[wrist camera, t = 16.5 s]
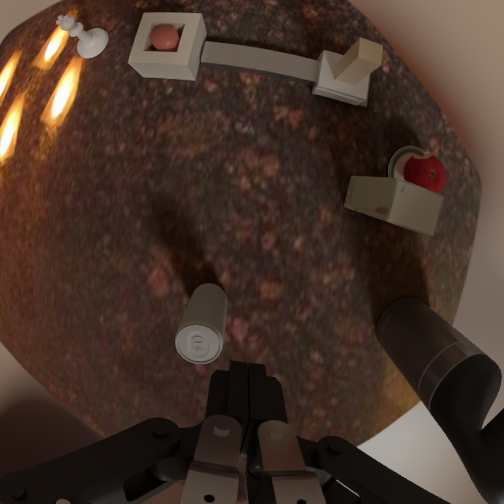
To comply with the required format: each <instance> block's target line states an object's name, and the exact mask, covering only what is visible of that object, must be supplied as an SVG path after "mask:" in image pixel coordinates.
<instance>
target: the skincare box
mask: <svg viewBox="0 0 504 504" xmlns="http://www.w3.org/2000/svg"><path fill="white" fill-rule="evenodd" d="M443 200H444V198H443V196H441V195H439V194H437V193H435V192H432V191H430V190H427V189H425V188H423V187H420V186H417V185H415V184H412V183H410V182H407V181H404V180H401V179H399V178H388V177H368V176H351V180H350V183H349V187H348V191H347V195H346V199H345V203H344V207H346V208H348V209H351V210H354V211H357V212H360V213H363V214H366V215H369V216H372V217H375V218H378V219H381V220H384V221H387V222H389V223H392V224H395V225H397V226H400V227H403V228H406V229H410V230H413V231H416V232H420V233H423V234H427V235H431V236H433V235H434V233H435V229H436V226H437V223H438V219H439V215H440V212H441V208H442V204H443Z"/></svg>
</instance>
